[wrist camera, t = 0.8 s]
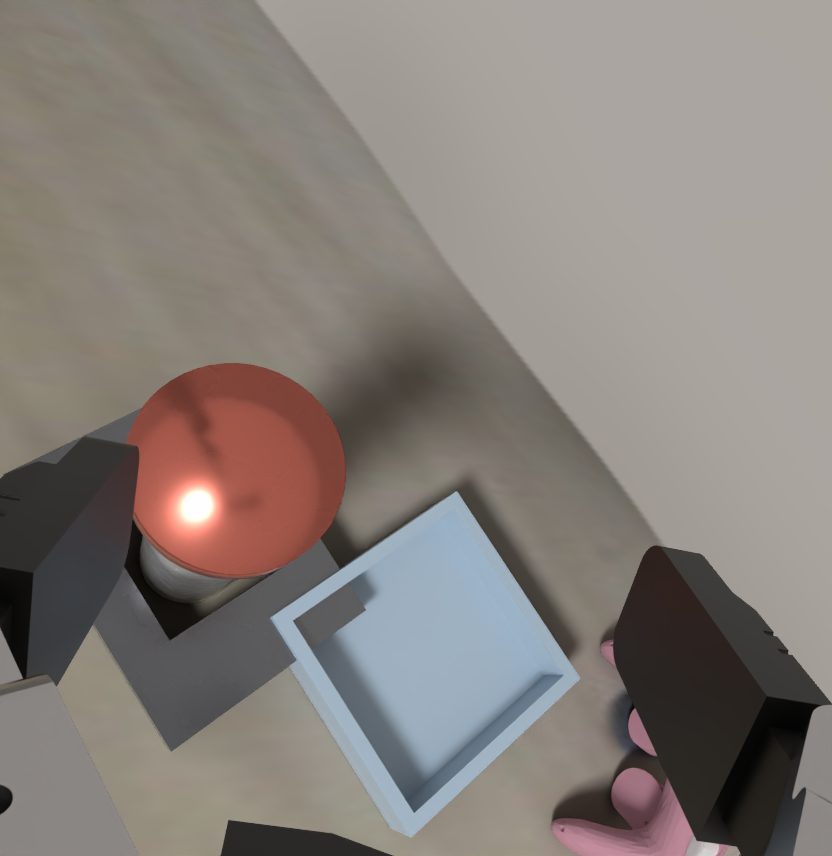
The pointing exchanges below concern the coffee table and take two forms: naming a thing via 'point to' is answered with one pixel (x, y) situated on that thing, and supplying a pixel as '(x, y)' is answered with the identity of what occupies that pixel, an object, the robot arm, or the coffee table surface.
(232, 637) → the hitch bracket
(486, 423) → the coffee table surface
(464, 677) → the tray
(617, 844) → the video game controller
